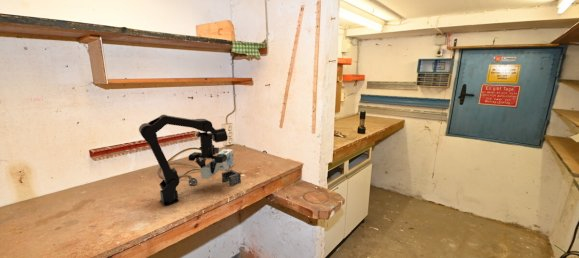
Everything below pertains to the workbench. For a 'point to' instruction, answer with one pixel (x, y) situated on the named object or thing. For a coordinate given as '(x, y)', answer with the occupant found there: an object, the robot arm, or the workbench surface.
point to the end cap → (231, 177)
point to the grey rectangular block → (209, 170)
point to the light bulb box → (230, 159)
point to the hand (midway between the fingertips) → (208, 173)
